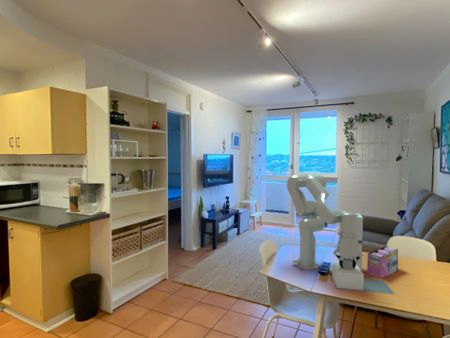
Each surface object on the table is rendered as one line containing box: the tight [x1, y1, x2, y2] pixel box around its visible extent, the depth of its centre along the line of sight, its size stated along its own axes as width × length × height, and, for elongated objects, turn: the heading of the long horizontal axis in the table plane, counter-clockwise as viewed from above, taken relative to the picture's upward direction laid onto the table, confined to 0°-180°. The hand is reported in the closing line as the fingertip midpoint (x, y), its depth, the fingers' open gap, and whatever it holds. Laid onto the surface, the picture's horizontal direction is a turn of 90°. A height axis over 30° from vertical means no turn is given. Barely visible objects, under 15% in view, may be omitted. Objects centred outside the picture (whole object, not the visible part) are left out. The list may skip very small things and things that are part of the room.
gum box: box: [366, 245, 399, 279], centre depth 168 cm, size 24×8×14 cm, turn 125°
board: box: [331, 275, 395, 295], centre depth 150 cm, size 28×16×1 cm, turn 79°
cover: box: [331, 258, 365, 290], centre depth 151 cm, size 13×13×13 cm
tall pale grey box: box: [339, 213, 364, 272], centre depth 169 cm, size 11×11×35 cm
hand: (347, 267), depth 151 cm, fingers open, 5 cm apart
